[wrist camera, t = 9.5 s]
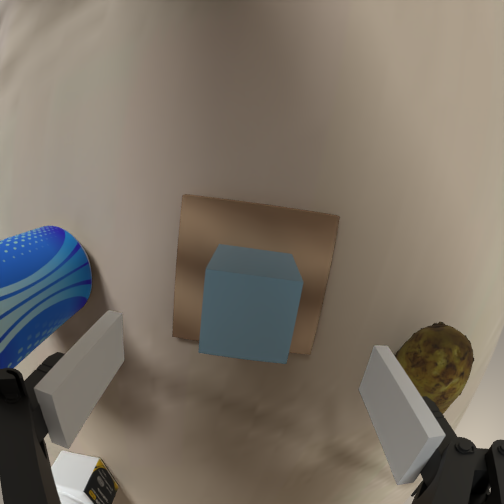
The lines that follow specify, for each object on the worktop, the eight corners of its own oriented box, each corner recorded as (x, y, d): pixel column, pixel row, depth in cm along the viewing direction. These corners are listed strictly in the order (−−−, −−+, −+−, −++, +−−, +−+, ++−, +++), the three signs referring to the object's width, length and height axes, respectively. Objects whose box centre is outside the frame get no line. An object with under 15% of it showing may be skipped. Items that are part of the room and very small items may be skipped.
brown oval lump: (356, 412, 30) (376, 466, 22) (392, 302, 27) (433, 344, 19) (421, 408, 30) (448, 454, 22) (461, 306, 27) (507, 342, 19)
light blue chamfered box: (219, 243, 25) (205, 268, 18) (291, 253, 25) (303, 281, 18) (211, 310, 26) (198, 352, 20) (280, 319, 26) (286, 363, 20)
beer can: (83, 212, 25) (-59, 260, 10) (110, 302, 27) (5, 409, 12) (21, 235, 26) (-103, 284, 10) (46, 313, 28) (-55, 396, 12)
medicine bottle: (119, 486, 35) (96, 546, 23) (81, 478, 35) (55, 532, 23) (101, 457, 33) (70, 521, 21) (61, 448, 33) (27, 505, 22)
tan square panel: (185, 194, 25) (161, 201, 18) (336, 215, 25) (361, 229, 19) (175, 331, 28) (155, 371, 21) (308, 348, 28) (320, 392, 21)
